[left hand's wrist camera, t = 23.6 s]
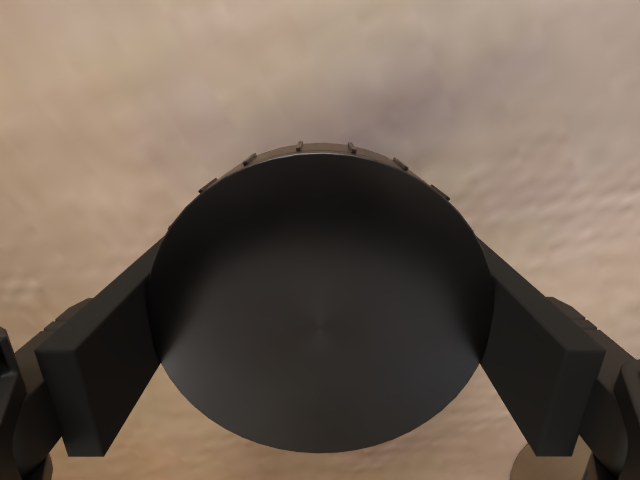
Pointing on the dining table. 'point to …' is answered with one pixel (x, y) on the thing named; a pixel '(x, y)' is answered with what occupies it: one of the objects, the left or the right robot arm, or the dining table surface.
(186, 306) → the lid
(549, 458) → the jar
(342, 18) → the dining table surface
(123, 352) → the left robot arm
